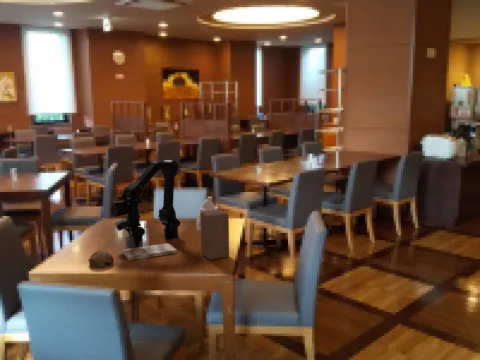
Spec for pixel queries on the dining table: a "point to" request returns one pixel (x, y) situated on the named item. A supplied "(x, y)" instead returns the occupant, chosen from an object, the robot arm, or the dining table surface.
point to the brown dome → (101, 259)
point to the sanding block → (132, 243)
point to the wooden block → (214, 234)
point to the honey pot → (205, 206)
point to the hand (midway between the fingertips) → (134, 244)
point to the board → (149, 251)
